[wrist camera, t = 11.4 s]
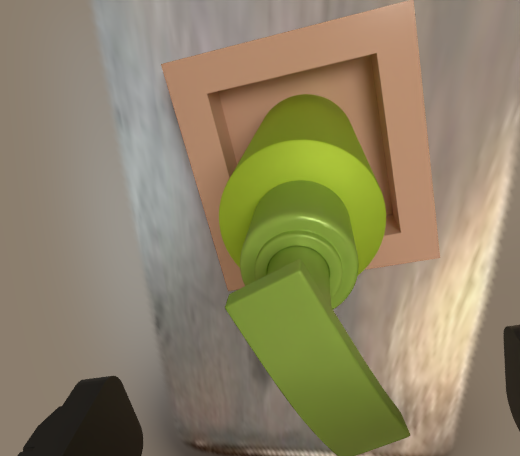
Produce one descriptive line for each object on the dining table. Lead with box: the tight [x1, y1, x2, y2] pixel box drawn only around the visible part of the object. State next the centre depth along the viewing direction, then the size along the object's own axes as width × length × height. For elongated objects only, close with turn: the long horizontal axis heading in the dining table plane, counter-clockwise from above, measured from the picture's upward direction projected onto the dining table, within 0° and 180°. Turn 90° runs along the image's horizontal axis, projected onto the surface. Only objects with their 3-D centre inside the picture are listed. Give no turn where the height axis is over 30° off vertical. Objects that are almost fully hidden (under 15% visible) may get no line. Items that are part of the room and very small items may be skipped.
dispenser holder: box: [161, 0, 440, 291], centre depth 27 cm, size 14×13×4 cm
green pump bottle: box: [219, 94, 410, 456], centre depth 19 cm, size 6×7×20 cm
